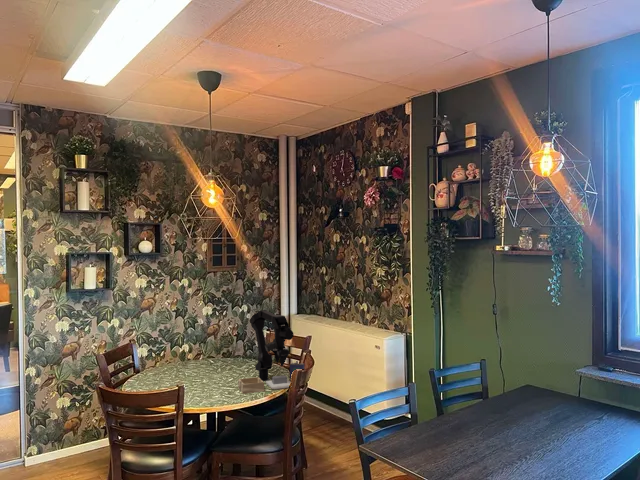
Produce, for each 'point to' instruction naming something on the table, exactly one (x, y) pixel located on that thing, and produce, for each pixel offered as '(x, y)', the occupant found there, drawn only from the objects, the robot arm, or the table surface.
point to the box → (250, 385)
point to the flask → (295, 367)
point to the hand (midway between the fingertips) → (279, 364)
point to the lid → (279, 382)
